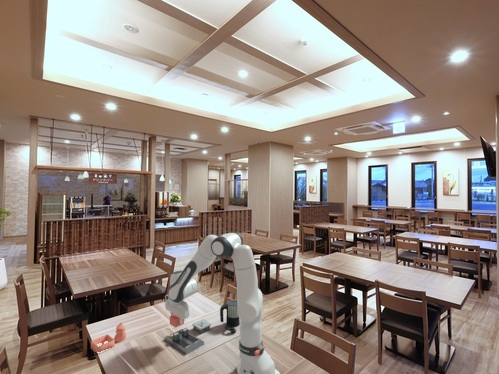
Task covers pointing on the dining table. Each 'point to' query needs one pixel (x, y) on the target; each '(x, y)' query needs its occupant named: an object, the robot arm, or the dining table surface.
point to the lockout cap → (175, 320)
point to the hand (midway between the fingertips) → (176, 321)
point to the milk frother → (231, 315)
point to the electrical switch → (201, 326)
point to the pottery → (109, 339)
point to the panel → (185, 342)
